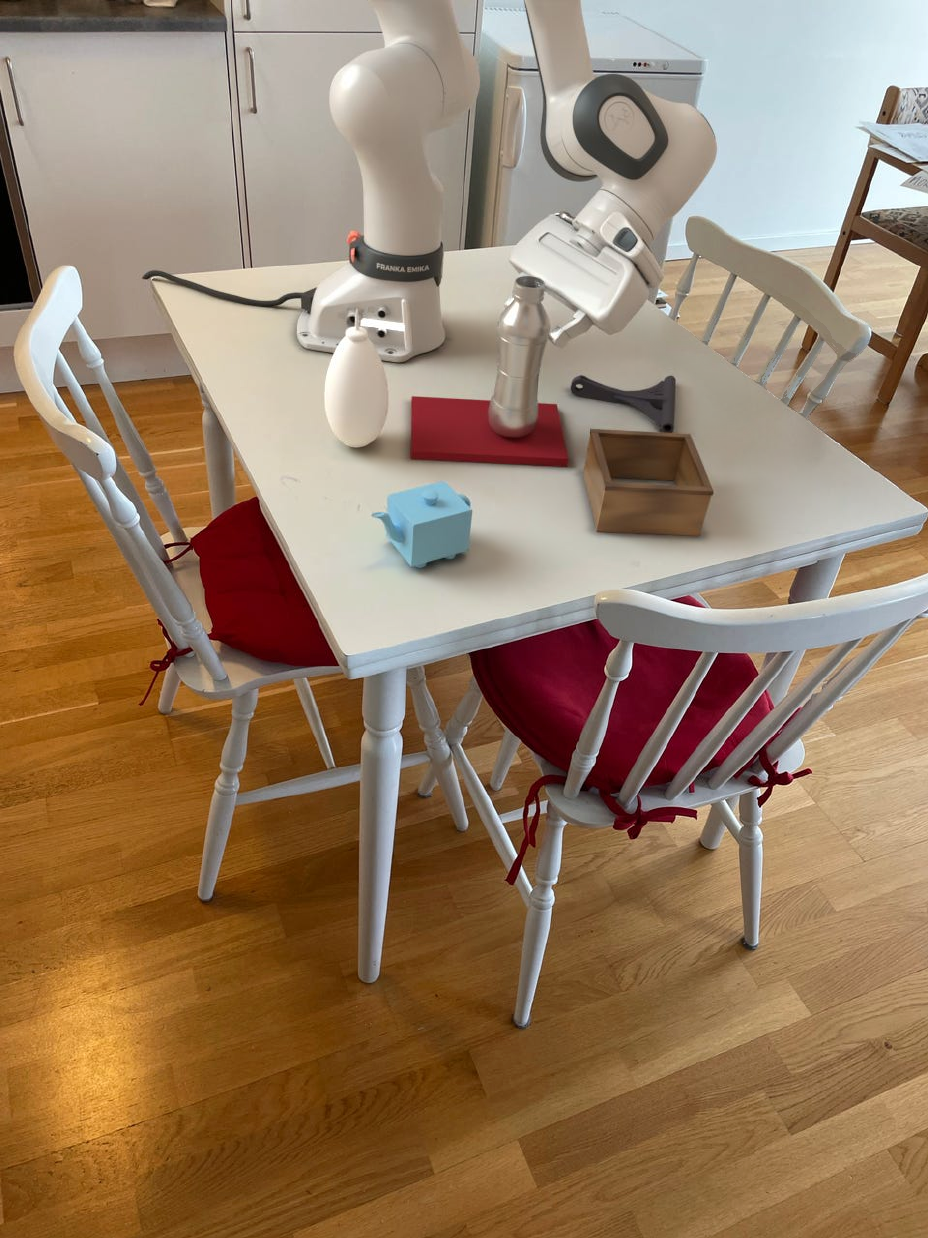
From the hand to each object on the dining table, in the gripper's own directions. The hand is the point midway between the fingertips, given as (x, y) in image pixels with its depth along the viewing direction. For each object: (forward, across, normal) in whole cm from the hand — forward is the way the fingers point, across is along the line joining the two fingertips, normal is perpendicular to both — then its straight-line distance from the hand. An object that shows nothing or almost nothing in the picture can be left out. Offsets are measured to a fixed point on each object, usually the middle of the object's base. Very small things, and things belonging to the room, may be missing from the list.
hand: (531, 326), depth 117 cm
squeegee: (-3, -2, +25) cm, 25 cm away
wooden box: (+7, +19, +14) cm, 25 cm away
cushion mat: (+13, -2, +9) cm, 16 cm away
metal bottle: (+11, 0, +10) cm, 14 cm away
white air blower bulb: (+25, -7, -3) cm, 26 cm away
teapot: (+28, +16, -6) cm, 33 cm away
